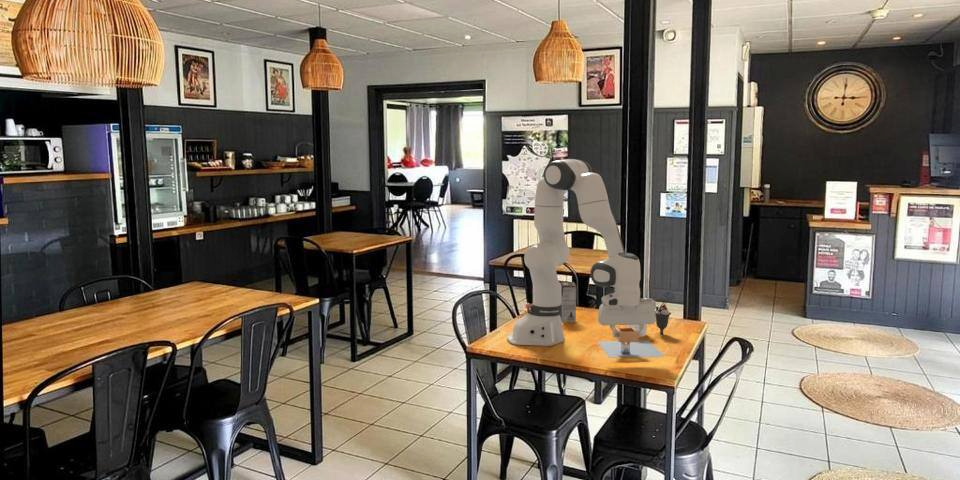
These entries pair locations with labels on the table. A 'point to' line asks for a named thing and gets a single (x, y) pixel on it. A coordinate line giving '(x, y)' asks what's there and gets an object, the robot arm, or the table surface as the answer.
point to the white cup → (638, 328)
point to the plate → (635, 349)
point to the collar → (627, 334)
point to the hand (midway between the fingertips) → (626, 336)
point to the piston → (625, 347)
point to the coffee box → (568, 301)
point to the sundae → (662, 317)
